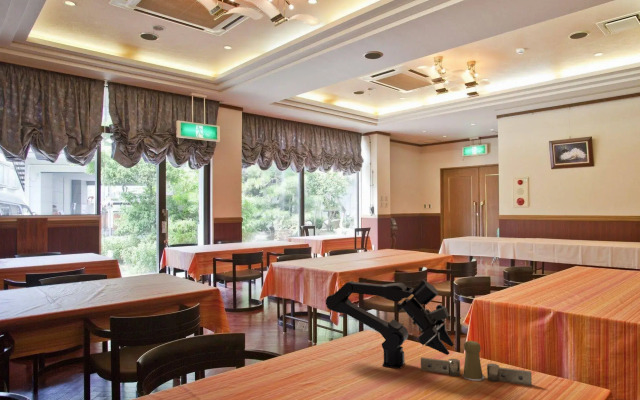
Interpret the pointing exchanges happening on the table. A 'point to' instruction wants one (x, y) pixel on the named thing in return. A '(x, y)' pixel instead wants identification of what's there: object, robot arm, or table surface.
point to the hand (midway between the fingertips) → (450, 349)
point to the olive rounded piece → (472, 360)
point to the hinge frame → (493, 375)
